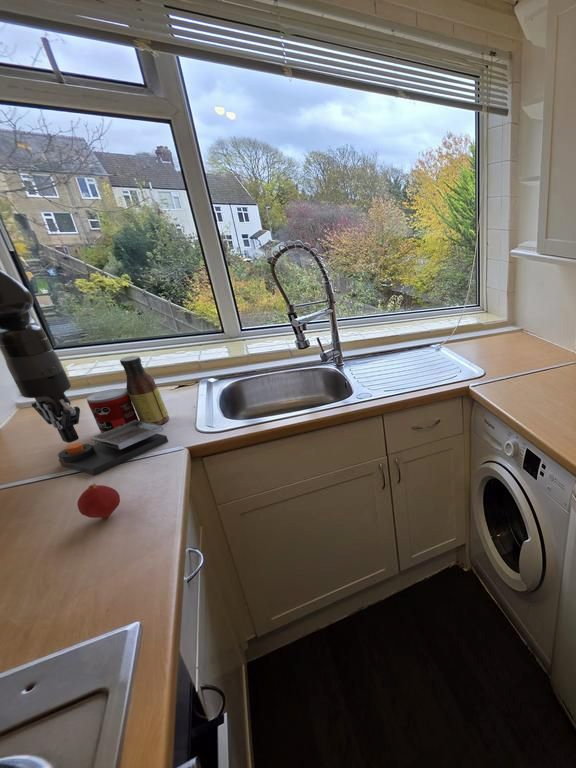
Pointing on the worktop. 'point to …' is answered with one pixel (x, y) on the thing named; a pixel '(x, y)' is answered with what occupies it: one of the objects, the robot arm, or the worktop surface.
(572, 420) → the worktop surface
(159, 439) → the scale
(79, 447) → the tare button
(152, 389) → the sauce bottle
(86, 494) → the onion
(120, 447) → the pan
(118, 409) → the canned food
